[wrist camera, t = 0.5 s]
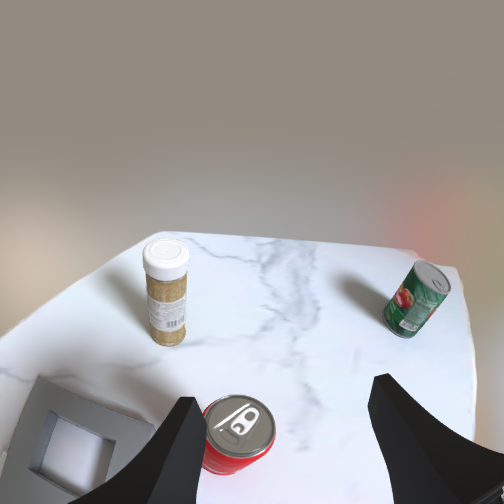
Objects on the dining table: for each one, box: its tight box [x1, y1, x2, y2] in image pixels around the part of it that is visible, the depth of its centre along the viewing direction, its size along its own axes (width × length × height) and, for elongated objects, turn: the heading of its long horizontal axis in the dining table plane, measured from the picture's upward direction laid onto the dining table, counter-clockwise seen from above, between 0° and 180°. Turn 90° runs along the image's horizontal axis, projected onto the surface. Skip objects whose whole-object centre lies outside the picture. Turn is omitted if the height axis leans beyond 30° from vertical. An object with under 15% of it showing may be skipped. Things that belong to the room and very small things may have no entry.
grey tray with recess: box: [0, 376, 156, 504], centre depth 14 cm, size 18×15×2 cm
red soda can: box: [202, 395, 276, 475], centre depth 18 cm, size 5×5×12 cm
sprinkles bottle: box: [143, 238, 190, 346], centre depth 29 cm, size 5×5×13 cm
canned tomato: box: [383, 261, 451, 338], centre depth 39 cm, size 8×8×11 cm
